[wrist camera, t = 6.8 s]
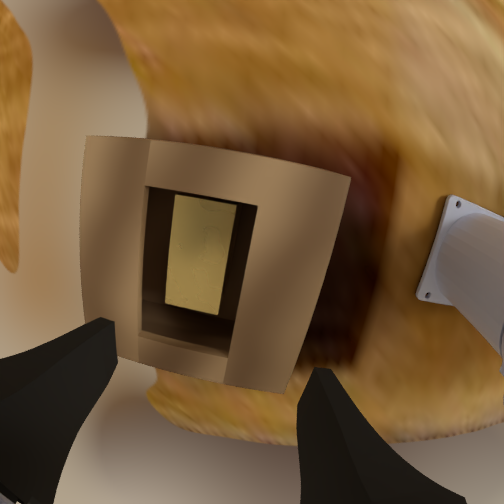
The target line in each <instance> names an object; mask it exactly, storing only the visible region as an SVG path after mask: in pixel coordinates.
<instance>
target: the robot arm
mask: <svg viewBox="0 0 504 504" xmlns="http://www.w3.org/2000/svg"><path fill="white" fill-rule="evenodd" d="M457 201H458V206H457V207H456V203H457ZM428 292H429V294H428V295H427V296H425V295H426V293H428ZM416 297H417V298H418V299H419V300H422V301H428V302H434V303H439V304H445V305H451V306H455V307H456V308H457V309H458V310H459V312H460V313H461V314H462V315H463V316H464V317H465V318H466V319H467V320H468V321H469V322H470V323H471V324H472V325H473V326H474V327H475V328H476V329H477V330H478V331H479V333H480V334H481V335H482V336H483V337H484V338H485V339H486V340H487V341H488V342H489V344H490V345H491V346H492V347H493V348H494V349H495V350H496V351H497V353H498V354H499V355H500V356H501V357H502V358H503V361H502V365H501V368H500V372H501V374H502V375H503V376H504V217H501V216H499V215H497V214H495V213H493V212H491V211H489V210H487V209H485V208H483V207H480V206H478V205H476V204H474V203H471V202H469V201H467V200H464V199H462V198H460V197H457V196H455V195H449V196H448V197H447V199H446V202H445V206H444V210H443V213H442V217H441V221H440V224H439V227H438V231H437V234H436V237H435V240H434V244H433V247H432V250H431V253H430V256H429V258H428V261H427V264H426V267H425V270H424V272H423V275H422V278H421V280H420V283H419V286H418V288H417V291H416ZM117 364H118V359H117V348H116V335H115V321H112V320H109V319H106V318H103V317H99V318H97V319H95V320H92V321H90V322H88V323H86V324H84V325H82V326H80V327H78V328H76V329H74V330H72V331H70V332H68V333H66V334H64V335H62V336H60V337H58V338H56V339H54V340H52V341H49V342H47V343H45V344H42V345H40V346H38V347H35V348H33V349H30V350H28V351H25V352H22V353H19V354H16V355H13V356H9V357H6V358H2V359H0V504H16V502H17V501H18V502H19V503H21V504H53V503H54V498H55V494H56V489H57V486H58V483H59V480H60V476H61V473H62V470H63V467H64V464H65V462H66V459H67V457H68V454H69V451H70V449H71V447H72V444H73V442H74V440H75V438H76V435H77V433H78V431H79V429H80V428H81V426H82V424H83V423H84V421H85V419H86V418H87V416H88V415H89V413H90V411H91V410H92V408H93V407H94V405H95V404H96V402H97V401H98V399H99V397H100V396H101V394H102V393H103V391H104V390H105V388H106V386H107V385H108V383H109V381H110V379H111V377H112V375H113V372H114V370H115V368H116V366H117ZM503 404H504V396H503ZM296 429H297V441H298V451H299V463H300V475H301V500H300V504H467V503H466V500H465V497H463V496H460V495H458V494H456V493H454V492H452V491H450V490H448V489H446V488H444V487H442V486H441V485H439V484H437V483H435V482H434V481H432V480H431V479H429V478H428V477H426V476H425V475H423V474H422V473H420V472H419V471H418V470H416V469H415V468H414V467H413V466H411V465H410V464H409V463H407V462H406V461H405V460H404V459H403V458H402V457H401V456H399V455H398V454H397V453H396V452H395V451H394V450H393V449H392V448H391V447H390V446H389V445H388V444H387V443H386V442H385V441H384V440H383V439H382V438H381V437H380V435H379V434H378V433H377V432H376V431H375V430H374V428H373V427H372V426H371V425H370V424H369V422H368V421H367V420H366V419H365V417H364V416H363V415H362V413H361V412H360V411H359V409H358V408H357V407H356V405H355V404H354V402H353V401H352V400H351V398H350V397H349V395H348V394H347V392H346V391H345V389H344V388H343V386H342V385H341V383H340V382H339V380H338V379H337V377H336V376H335V374H334V373H333V372H332V370H331V369H326V368H318V367H314V369H313V372H312V374H311V376H310V378H309V381H308V383H307V385H306V387H305V389H304V392H303V394H302V396H301V398H300V400H299V402H298V404H297V428H296Z"/></svg>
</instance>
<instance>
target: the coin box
mask: <svg viewBox="0 0 504 504" xmlns="http://www.w3.org/2000/svg"><path fill="white" fill-rule="evenodd" d="M350 181H351V177H348V176H345V175H341V174H338V173H335V172H332V171H328V170H325V169H321V168H317V167H312V166H308V165H304V164H300V163H295V162H291V161H286V160H281V159H277V158H272V157H267V156H262V155H257V154H251V153H246V152H240V151H235V150H229V149H223V148H216V147H210V146H203V145H196V144H189V143H181V142H173V141H164V140H155V139H144V138H132V137H114V136H86V143H85V151H84V160H83V170H82V184H81V200H80V267H81V285H82V297H83V307H84V316H85V324H86V323H88V322H90V321H92V320H95V319H97V318H99V317H103V318H106V319H109V320H112V321H115V335H116V348H117V356H120V357H123V358H126V359H129V360H132V361H135V362H138V363H142V364H145V365H148V366H152V367H155V368H159V369H163V370H166V371H170V372H174V373H178V374H181V375H186V376H190V377H194V378H198V379H202V380H207V381H212V382H216V383H221V384H226V385H231V386H236V387H242V388H248V389H254V390H260V391H266V392H273V393H280V394H284V392H285V390H286V387H287V384H288V382H289V379H290V377H291V374H292V371H293V369H294V366H295V363H296V361H297V358H298V355H299V353H300V350H301V347H302V344H303V341H304V339H305V336H306V333H307V330H308V327H309V324H310V321H311V318H312V315H313V312H314V309H315V306H316V303H317V300H318V297H319V294H320V290H321V287H322V284H323V281H324V277H325V274H326V271H327V267H328V264H329V261H330V257H331V254H332V250H333V247H334V243H335V239H336V236H337V232H338V228H339V225H340V221H341V217H342V213H343V209H344V205H345V201H346V197H347V193H348V189H349V185H350ZM180 192H188V193H193V194H199V195H205V196H210V197H216V198H221V199H227V200H232V201H237V202H242V208H241V213H240V218H239V224H238V229H237V235H236V240H235V246H234V251H233V257H232V263H231V268H230V274H229V280H228V285H227V288H226V291H225V294H224V297H223V301H222V304H221V307H220V310H219V313H218V315H215V314H210V313H206V312H201V311H197V310H192V309H188V308H184V307H179V306H175V305H171V304H167V303H165V297H166V282H167V269H168V257H169V247H170V237H171V227H172V219H173V210H174V202H175V195H176V194H178V193H180Z"/></svg>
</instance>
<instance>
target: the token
mask: <svg viewBox="0 0 504 504" xmlns="http://www.w3.org/2000/svg"><path fill="white" fill-rule="evenodd" d="M241 208H242V202H237V201H232V200H227V199H221V198H216V197H210V196H205V195H199V194H193V193H188V192H180V193H178V194H176V195H175V202H174V210H173V219H172V227H171V237H170V247H169V257H168V269H167V282H166V297H165V303H167V304H171V305H175V306H179V307H184V308H188V309H192V310H197V311H201V312H206V313H210V314H215V315H218V313H219V310H220V307H221V304H222V301H223V297H224V294H225V291H226V288H227V285H228V280H229V274H230V268H231V263H232V257H233V251H234V246H235V240H236V235H237V229H238V224H239V218H240V213H241Z"/></svg>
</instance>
